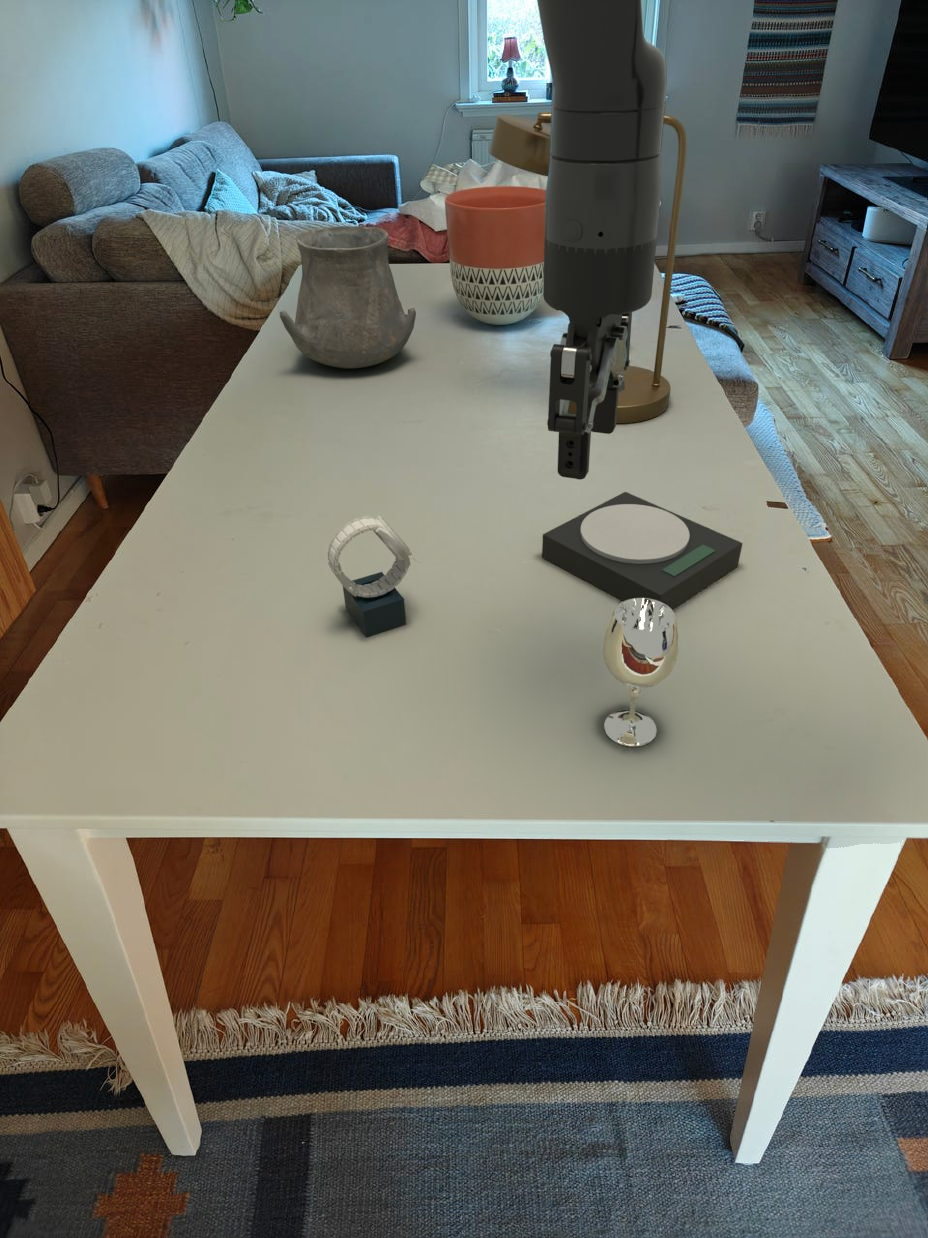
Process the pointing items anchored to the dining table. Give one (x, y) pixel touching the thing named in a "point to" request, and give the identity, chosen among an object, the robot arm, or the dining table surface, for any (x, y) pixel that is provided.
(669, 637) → the wineglass
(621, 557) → the scale
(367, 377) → the dining table surface
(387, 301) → the vessel
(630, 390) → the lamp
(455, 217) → the planter
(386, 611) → the watch
